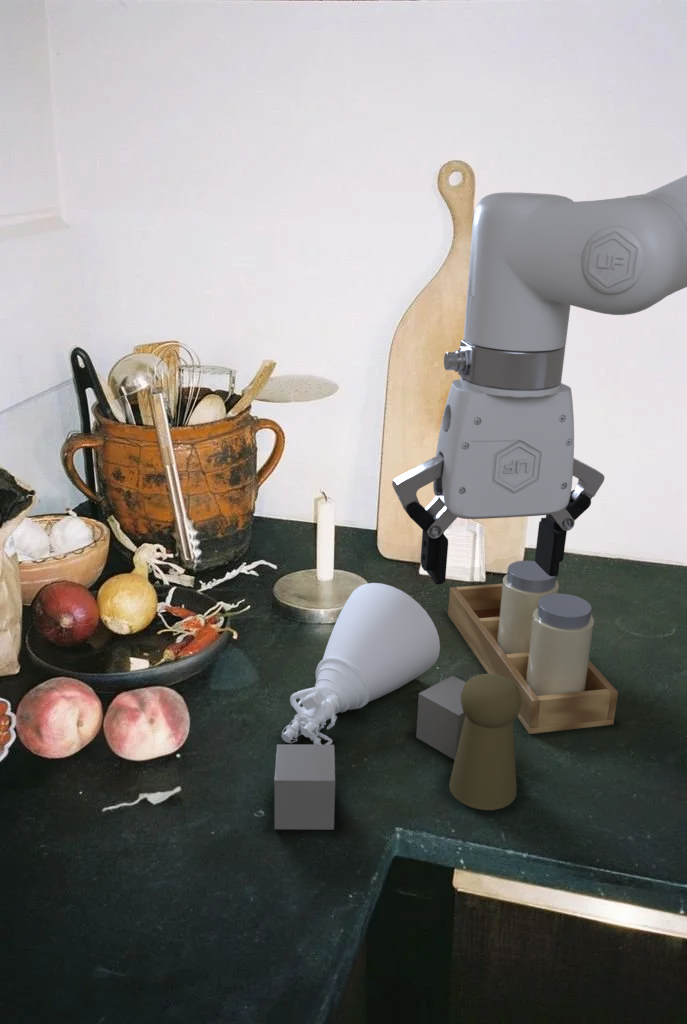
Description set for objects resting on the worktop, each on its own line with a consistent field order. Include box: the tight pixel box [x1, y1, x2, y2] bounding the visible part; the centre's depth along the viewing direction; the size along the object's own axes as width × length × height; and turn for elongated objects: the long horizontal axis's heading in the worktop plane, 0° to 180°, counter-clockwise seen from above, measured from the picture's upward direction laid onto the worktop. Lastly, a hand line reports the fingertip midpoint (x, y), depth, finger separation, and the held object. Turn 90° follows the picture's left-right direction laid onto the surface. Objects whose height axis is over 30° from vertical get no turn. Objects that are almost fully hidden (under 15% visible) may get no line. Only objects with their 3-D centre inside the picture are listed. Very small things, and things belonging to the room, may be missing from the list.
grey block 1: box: [273, 743, 336, 831], centre depth 80 cm, size 5×5×5 cm
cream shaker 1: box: [497, 560, 560, 654], centre depth 103 cm, size 6×6×11 cm
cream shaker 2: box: [526, 592, 595, 696], centre depth 95 cm, size 6×6×11 cm
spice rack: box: [447, 583, 619, 735], centre depth 104 cm, size 9×26×4 cm, turn 12°
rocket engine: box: [280, 582, 441, 745], centre depth 94 cm, size 12×12×18 cm
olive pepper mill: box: [448, 673, 522, 811], centre depth 82 cm, size 6×6×11 cm
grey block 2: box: [415, 675, 467, 761], centre depth 90 cm, size 5×5×5 cm
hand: (491, 573), depth 76 cm, fingers open, 9 cm apart
